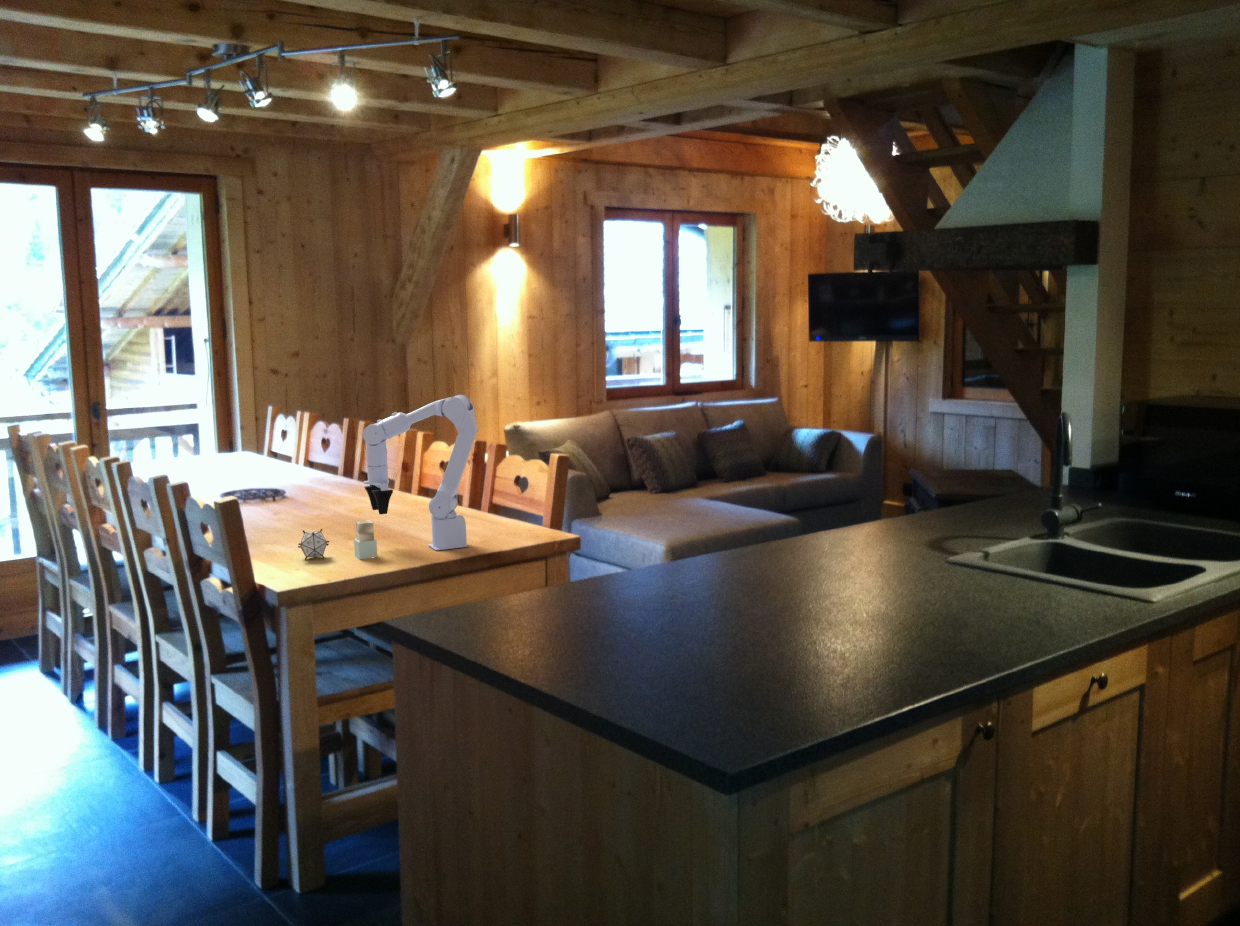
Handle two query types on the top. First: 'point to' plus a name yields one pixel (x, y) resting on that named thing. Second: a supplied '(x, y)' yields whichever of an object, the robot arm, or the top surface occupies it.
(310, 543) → the game die
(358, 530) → the birch block
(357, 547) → the base block
